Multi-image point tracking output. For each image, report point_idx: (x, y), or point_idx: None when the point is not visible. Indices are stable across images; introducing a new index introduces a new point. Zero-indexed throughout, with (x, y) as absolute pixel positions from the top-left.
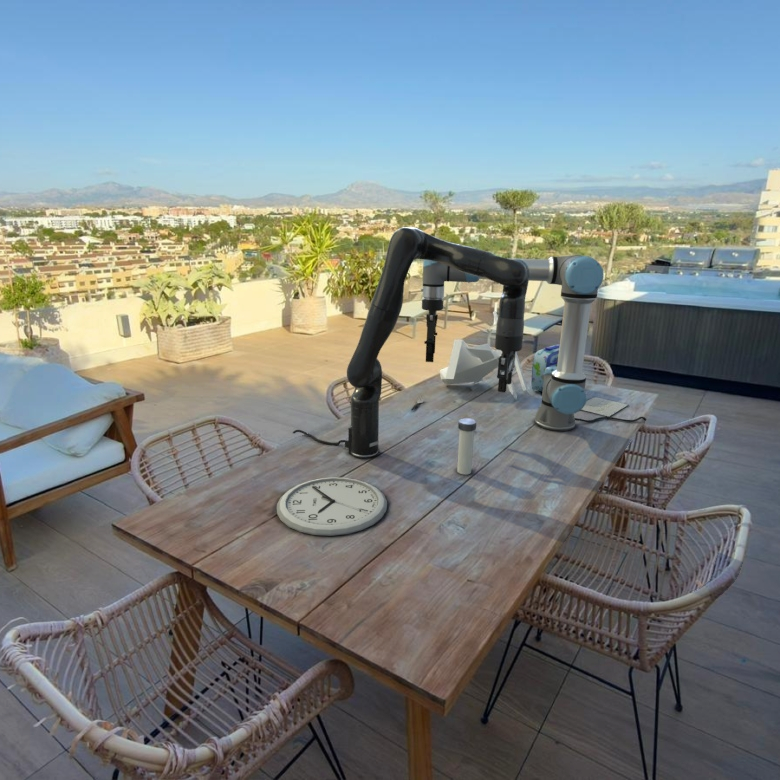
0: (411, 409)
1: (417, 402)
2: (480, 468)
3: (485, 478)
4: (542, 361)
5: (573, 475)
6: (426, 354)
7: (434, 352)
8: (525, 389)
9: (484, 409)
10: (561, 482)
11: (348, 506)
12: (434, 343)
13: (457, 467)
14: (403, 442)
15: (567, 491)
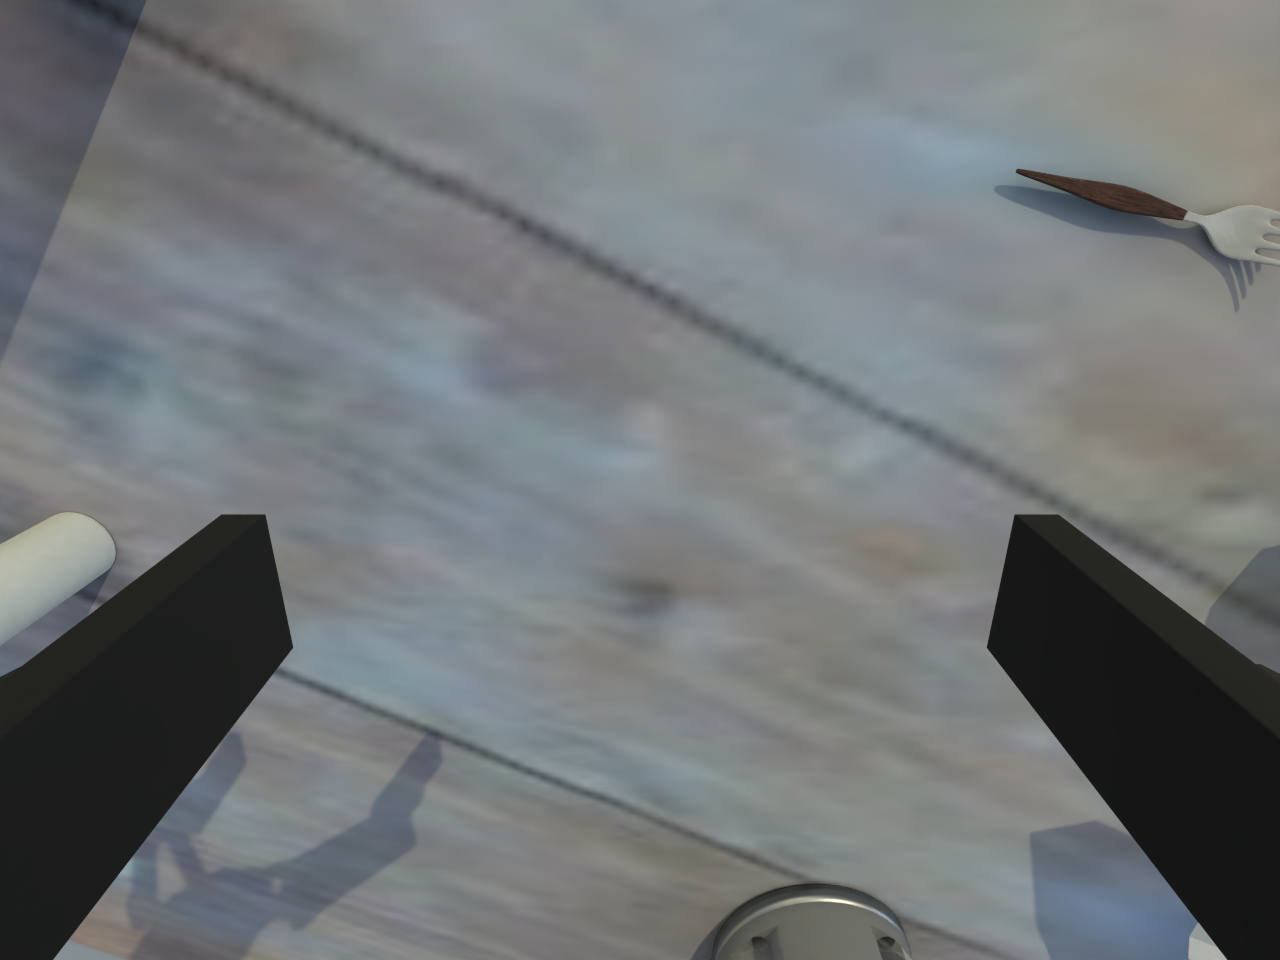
0: (1025, 171)
1: (1227, 209)
2: None
3: (50, 633)
4: None
5: (235, 932)
6: (118, 608)
7: (997, 652)
8: (1194, 957)
9: None
10: (151, 889)
11: None
12: (1116, 792)
13: (48, 521)
14: (360, 167)
15: None
